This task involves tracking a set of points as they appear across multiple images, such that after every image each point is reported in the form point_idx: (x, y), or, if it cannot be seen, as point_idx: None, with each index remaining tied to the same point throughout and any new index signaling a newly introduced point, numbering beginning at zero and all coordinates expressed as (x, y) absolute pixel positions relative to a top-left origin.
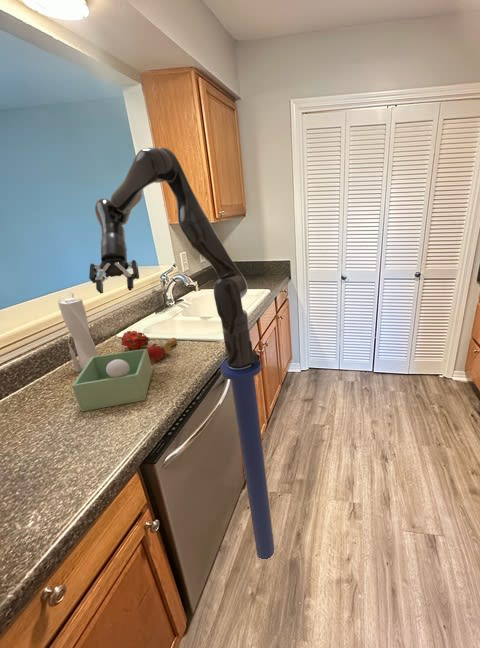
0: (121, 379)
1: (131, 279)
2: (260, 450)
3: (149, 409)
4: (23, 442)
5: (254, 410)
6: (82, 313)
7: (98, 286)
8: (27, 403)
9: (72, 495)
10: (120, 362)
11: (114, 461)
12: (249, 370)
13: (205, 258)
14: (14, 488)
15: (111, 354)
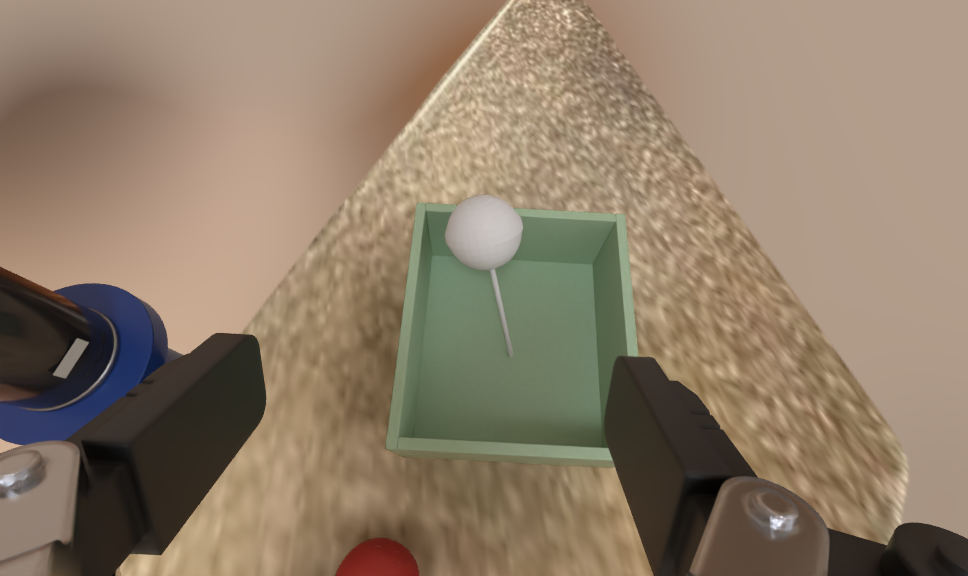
0: None
1: (80, 433)
2: None
3: (412, 204)
4: (687, 188)
5: None
6: None
7: (668, 388)
8: (800, 381)
9: (524, 34)
10: (466, 204)
11: (472, 74)
12: (66, 295)
13: None
14: (627, 74)
15: (554, 447)
